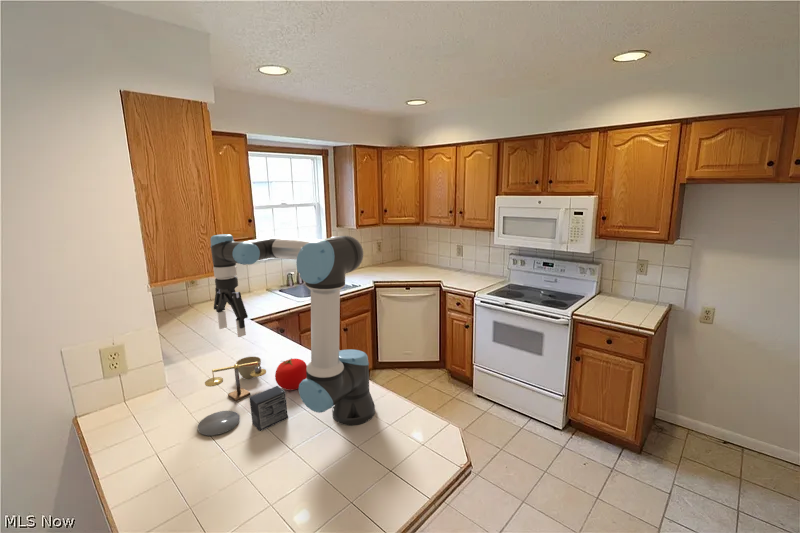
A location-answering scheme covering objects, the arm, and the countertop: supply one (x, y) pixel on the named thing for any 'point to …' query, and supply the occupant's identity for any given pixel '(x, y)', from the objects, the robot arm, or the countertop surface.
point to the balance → (240, 392)
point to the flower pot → (248, 369)
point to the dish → (218, 423)
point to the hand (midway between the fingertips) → (232, 331)
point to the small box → (268, 408)
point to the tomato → (291, 373)
